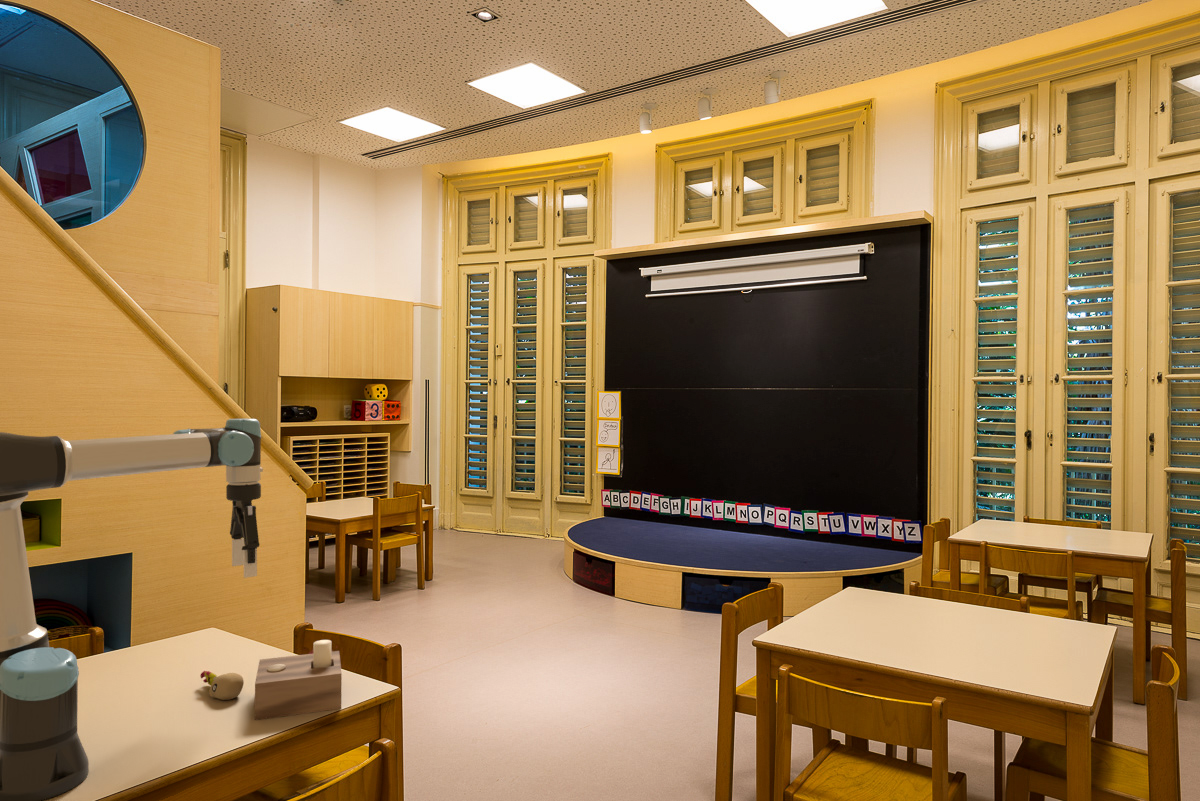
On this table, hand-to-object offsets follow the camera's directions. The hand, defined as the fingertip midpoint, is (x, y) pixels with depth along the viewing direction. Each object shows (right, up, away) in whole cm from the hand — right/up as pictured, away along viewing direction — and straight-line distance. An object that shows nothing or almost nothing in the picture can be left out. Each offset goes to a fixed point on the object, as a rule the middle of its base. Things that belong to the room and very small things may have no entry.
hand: (244, 570), depth 180 cm
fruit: (+13, -29, +14) cm, 35 cm away
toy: (-5, -29, -1) cm, 30 cm away
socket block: (+15, -29, -5) cm, 33 cm away
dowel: (+20, -24, -3) cm, 32 cm away
